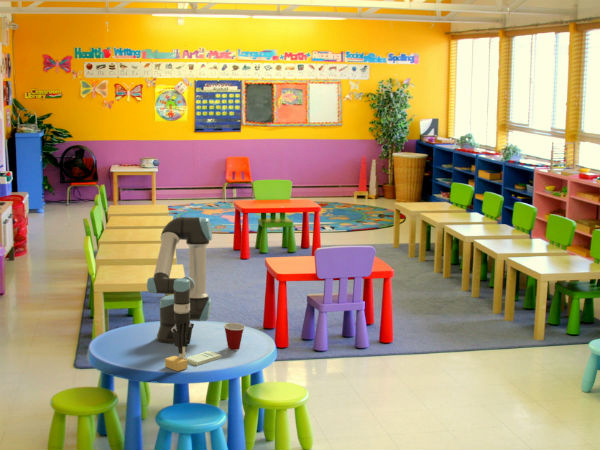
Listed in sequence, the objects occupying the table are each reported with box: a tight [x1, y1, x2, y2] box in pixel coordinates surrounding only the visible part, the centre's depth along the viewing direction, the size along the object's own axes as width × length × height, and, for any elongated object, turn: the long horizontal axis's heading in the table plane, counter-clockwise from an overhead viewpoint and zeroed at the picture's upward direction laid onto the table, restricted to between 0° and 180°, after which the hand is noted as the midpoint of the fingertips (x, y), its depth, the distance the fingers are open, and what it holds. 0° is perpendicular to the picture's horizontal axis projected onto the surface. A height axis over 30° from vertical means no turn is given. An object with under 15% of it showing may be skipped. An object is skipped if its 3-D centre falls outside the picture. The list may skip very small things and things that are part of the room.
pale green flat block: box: [186, 350, 222, 366], centre depth 395 cm, size 9×16×2 cm, turn 138°
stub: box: [164, 355, 188, 372], centre depth 383 cm, size 9×6×4 cm, turn 48°
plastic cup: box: [223, 322, 246, 351], centre depth 412 cm, size 11×11×12 cm
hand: (182, 359), depth 385 cm, fingers closed
